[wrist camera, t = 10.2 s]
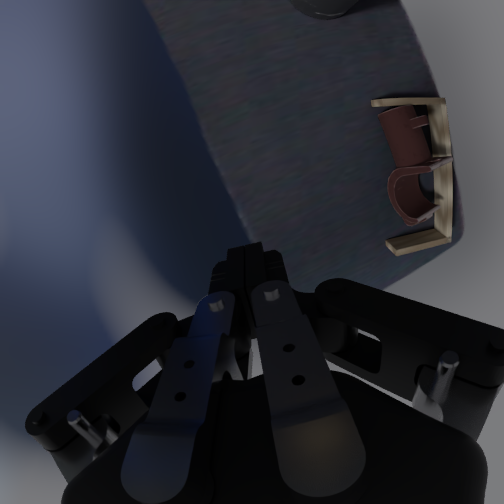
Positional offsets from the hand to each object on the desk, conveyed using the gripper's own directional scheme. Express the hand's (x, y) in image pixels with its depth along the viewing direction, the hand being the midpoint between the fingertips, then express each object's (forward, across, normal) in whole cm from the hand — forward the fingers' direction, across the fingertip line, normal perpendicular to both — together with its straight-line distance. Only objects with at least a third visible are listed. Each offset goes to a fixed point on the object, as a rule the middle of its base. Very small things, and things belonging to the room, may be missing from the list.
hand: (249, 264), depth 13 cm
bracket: (+29, -23, +4) cm, 38 cm away
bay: (+29, -24, +5) cm, 38 cm away
